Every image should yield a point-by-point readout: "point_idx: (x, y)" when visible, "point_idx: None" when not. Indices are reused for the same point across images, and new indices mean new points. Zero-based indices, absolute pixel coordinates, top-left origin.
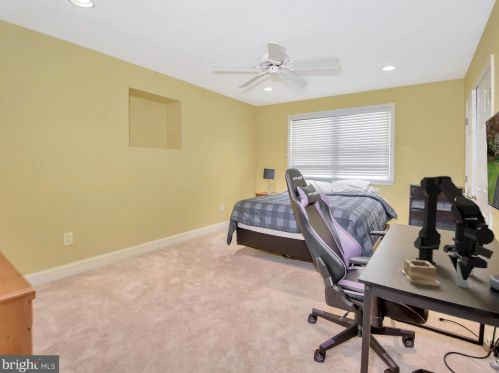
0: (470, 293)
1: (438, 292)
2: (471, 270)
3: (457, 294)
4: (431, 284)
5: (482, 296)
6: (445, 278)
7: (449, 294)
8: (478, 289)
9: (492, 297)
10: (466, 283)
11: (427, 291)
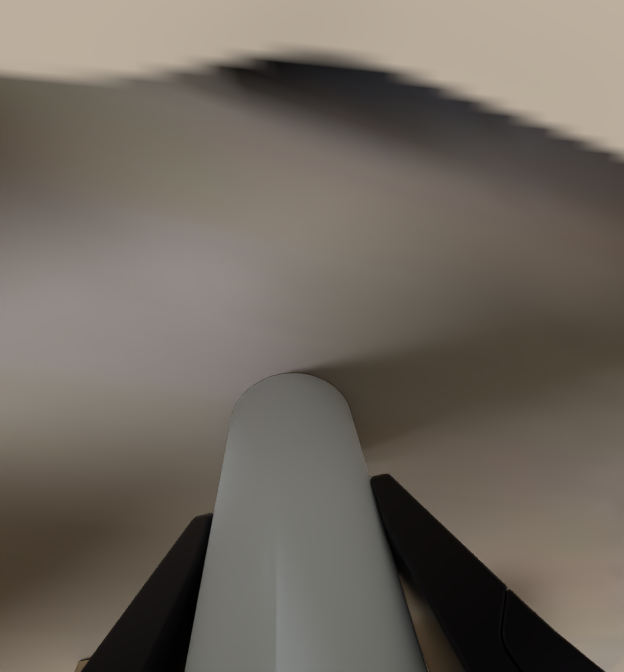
0: (506, 383)
1: (551, 603)
2: (585, 664)
3: (562, 492)
4: None
5: (565, 280)
6: (122, 541)
7: (576, 544)
8: (335, 266)
9: (573, 162)
10: (349, 428)
11: None
